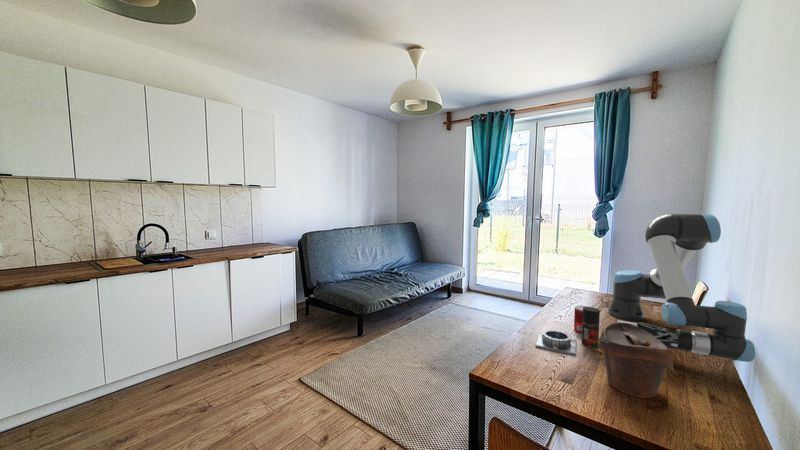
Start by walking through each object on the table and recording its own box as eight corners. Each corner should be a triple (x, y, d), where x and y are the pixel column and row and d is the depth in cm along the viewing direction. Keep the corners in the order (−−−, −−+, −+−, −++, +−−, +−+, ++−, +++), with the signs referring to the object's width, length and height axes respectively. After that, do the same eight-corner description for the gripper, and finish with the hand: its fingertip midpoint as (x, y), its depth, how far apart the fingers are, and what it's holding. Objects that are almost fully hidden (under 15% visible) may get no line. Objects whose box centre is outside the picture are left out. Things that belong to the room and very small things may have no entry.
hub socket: (539, 334, 138) (540, 326, 137) (575, 341, 131) (576, 332, 130) (535, 347, 126) (536, 337, 125) (575, 355, 119) (575, 345, 118)
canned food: (597, 336, 137) (598, 311, 136) (577, 334, 138) (578, 310, 138) (590, 329, 144) (591, 306, 143) (571, 327, 146) (572, 304, 145)
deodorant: (579, 344, 128) (581, 309, 127) (583, 340, 132) (584, 305, 131) (596, 349, 124) (598, 312, 123) (599, 344, 128) (601, 309, 127)
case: (651, 413, 86) (655, 350, 85) (583, 377, 104) (585, 324, 103) (686, 398, 93) (690, 340, 92) (617, 367, 111) (619, 318, 110)
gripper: (701, 366, 101) (622, 351, 112) (680, 338, 123) (615, 327, 134) (702, 344, 101) (623, 331, 112) (681, 320, 122) (616, 310, 133)
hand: (618, 329), depth 123 cm, fingers open, 13 cm apart
